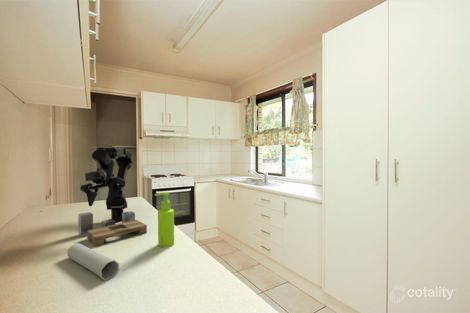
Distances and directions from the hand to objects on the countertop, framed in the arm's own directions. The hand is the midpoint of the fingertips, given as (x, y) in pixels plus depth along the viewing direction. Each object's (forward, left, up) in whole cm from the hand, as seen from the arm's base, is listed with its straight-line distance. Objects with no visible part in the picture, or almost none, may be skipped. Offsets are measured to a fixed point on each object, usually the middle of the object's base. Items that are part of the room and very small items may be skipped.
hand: (99, 204), depth 97 cm
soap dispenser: (+28, +14, -14) cm, 35 cm away
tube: (+26, -10, -14) cm, 32 cm away
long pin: (-7, -4, -14) cm, 16 cm away
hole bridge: (+5, +5, -14) cm, 16 cm away
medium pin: (-7, +14, -14) cm, 21 cm away
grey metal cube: (-7, +5, -14) cm, 16 cm away
